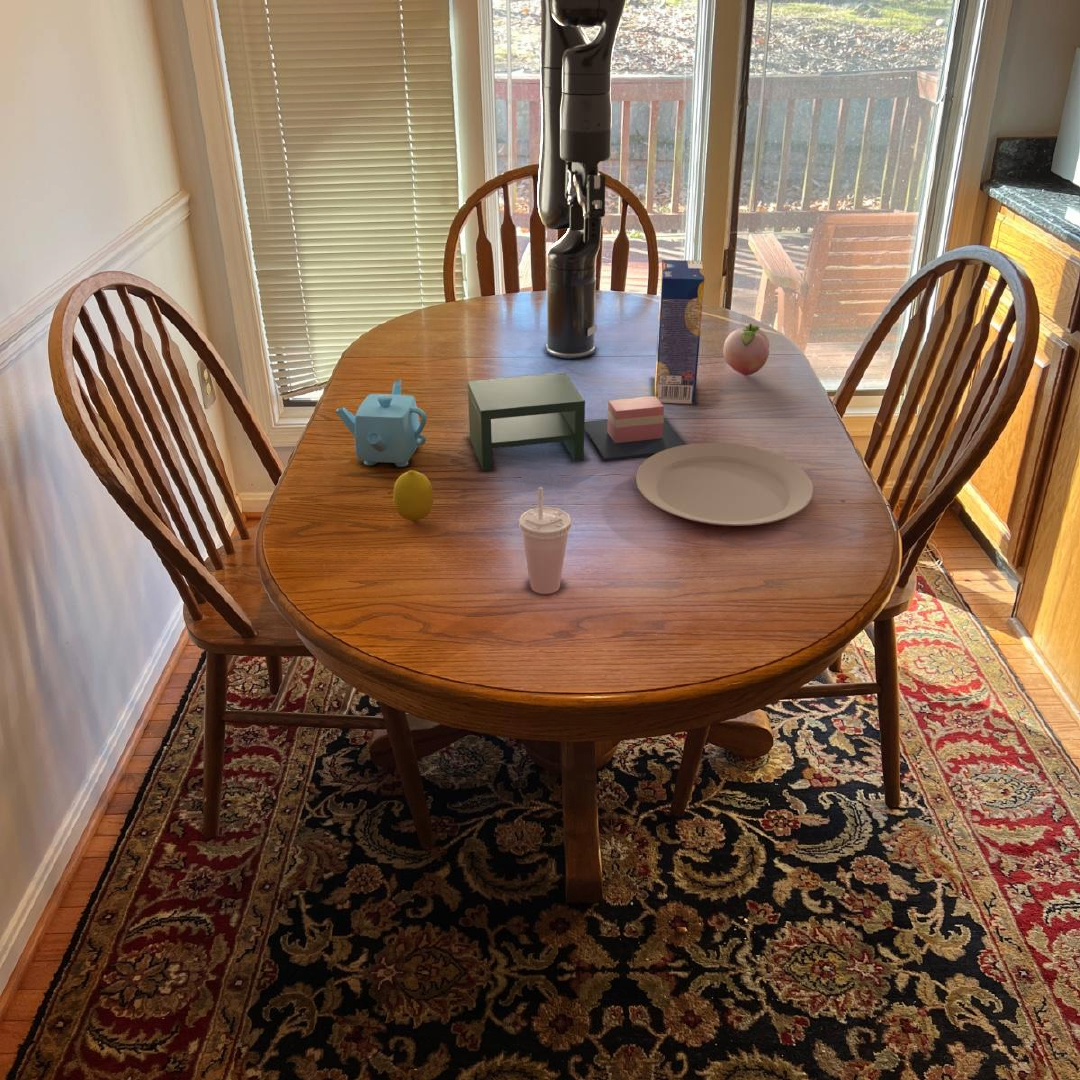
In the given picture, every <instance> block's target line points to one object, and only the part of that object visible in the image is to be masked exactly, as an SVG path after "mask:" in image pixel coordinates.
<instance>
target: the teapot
mask: <svg viewBox="0 0 1080 1080" xmlns="http://www.w3.org/2000/svg"><path fill="white" fill-rule="evenodd" d="M335 413H336V415H337V416H338V417H339V418H340V420H341V421H342V422H343V424H344V426H346V428H347V430H348V431H349V432H350V433H351V435H352V436H353V438H354V448H355V454H356V457H357V460H358V461H360V462H363V463H364V465H366V466H374V465H376V464H377V463H389V464H391V463H392V464H394V465H395V466H396V467H398V468H399V467H400V468H403V467H407V466H408V465H409V461H410V459H411V458H412V456H413V455H414V454H415V452H416V450H417V448H418V446H423V445H425V444H426V442H427V437H426V435H425V434H422V431H423V430H424V428H425V426H426V424H427V414H426V413H425V411H424V410H423V409H421V408H419V407H418V406H417V403H416V398H415V396H414V395H409V394H402V380H401V379H397V380H395V381H394V382H393V385H392V390H391V393H390V394H389V393H369V394H368V395H367V396H366V397H364V400H363V401H362V403H361V404H360V405H359V407H358V409H357V411H356V413H355V415H354V414H353V413H352V412H350V411H349V410H348V409H346V407H344V406H343V407H340V408H337V409H336V410H335ZM420 417H421V420H420ZM420 439H421V440H420Z"/></svg>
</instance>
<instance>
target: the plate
mask: <svg viewBox="0 0 1080 1080" xmlns="http://www.w3.org/2000/svg"><path fill="white" fill-rule="evenodd" d="M635 484H636V487H637V490H638V491H639V492H640V494H641V495H642V496H643V497H644V498H645V499H646V500H647V501H648V502H650V503H651V504H652V505H654V506H655V507H657V508H659V509H660V510H663V511H665V512H667V513H669V514H671V515H674V516H676V517H680V518H683V519H686V520H689V521H693V522H699V523H703V524H707V525H714V526H728V527H738V526H739V527H740V526H756V525H763V524H770V523H774V522H778V521H781V520H785V519H787V518H790V517H792V516H794V515H796V514H798V513H799V512H801V511H802V510H803V509H805V508H806V507H807V506H808V505H809V504H810V502H811V500H812V498H813V496H814V484H813V482H812V480H811V478H810V477H809V475H808V474H807V472H806V471H804V470H803V469H802V468H801V467H800V466H799V465H797V464H796V463H794V462H793V461H791V460H790V459H787V458H785V457H783V456H781V455H779V454H777V453H774V452H771V451H769V450H765V449H761V448H758V447H754V446H748V445H744V444H743V445H742V444H735V443H728V442H727V443H726V442H725V443H724V442H698V443H689V444H685V445H682V446H677V447H673V448H669V449H666V450H663V451H661V452H658V453H656V454H654V455H652V456H648V458H646V459H645V460H644V461H643V462H642V463H641V464H640V466H639V467H638V468H637V471H636V473H635Z"/></svg>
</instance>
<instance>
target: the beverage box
mask: <svg viewBox="0 0 1080 1080" xmlns="http://www.w3.org/2000/svg"><path fill="white" fill-rule="evenodd" d="M660 265H661V267H660V282H659V283H660V284H659V297H658V298H659V299H658V316H657V318H658V319H657V334H656V335H657V336H656V351H655V352H656V354H655V368H654V369H655V370H654V371H655V372H654V396H656V397H657V399H658V400H659V401H660V402H661V403H662V404H663V403H664V404H686V405H687V404H689V405H691V404H693V405H695V401H696V390H697V379H698V378H697V377H698V366H699V365H698V364H699V354H700V341H701V329H702V316H703V315H702V314H703V306H704V305H703V303H704V291H705V290H704V289H705V280H706V279H705V273H704V267H703V261H702V260H685V259H683V260H682V259H661V264H660Z"/></svg>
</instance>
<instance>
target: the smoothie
mask: <svg viewBox="0 0 1080 1080" xmlns="http://www.w3.org/2000/svg"><path fill="white" fill-rule="evenodd" d="M537 506H538V507H535V508H531V509H528V510H526V511H525V512H523V513H522V514H521V515H520V516H519V519H518V520H519V521H518V522H519V523H518V524H519V525H518V529H519V531H520V532H521V533H522V541H523V546H524V551H525V553H524V554H525V559H526V560H525V561H526V566H527V571H528V578H529V584H530V585H529V586H530V589H531V590H532V591H533V592H535V593H537V594H541V595H549V594H553V593H555V592H557V591H558V590H559V589H560V587H561V581H562V575H563V573H562V572H563V567H564V561H565V555H566V548H567V547H566V546H567V542H568V536H569V532H570V531H571V530H572V518H571V516H570V515H569V514H568V513H567V512H566V511H564V510H562V509H559V508H555V507H550V506H544V488H543V487H542V486H538V488H537Z"/></svg>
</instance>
